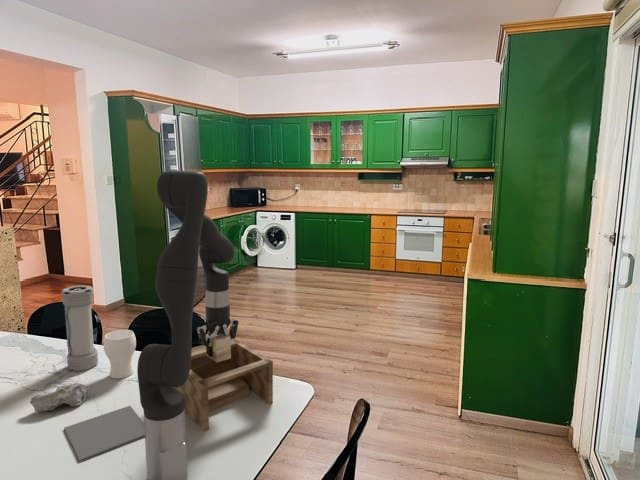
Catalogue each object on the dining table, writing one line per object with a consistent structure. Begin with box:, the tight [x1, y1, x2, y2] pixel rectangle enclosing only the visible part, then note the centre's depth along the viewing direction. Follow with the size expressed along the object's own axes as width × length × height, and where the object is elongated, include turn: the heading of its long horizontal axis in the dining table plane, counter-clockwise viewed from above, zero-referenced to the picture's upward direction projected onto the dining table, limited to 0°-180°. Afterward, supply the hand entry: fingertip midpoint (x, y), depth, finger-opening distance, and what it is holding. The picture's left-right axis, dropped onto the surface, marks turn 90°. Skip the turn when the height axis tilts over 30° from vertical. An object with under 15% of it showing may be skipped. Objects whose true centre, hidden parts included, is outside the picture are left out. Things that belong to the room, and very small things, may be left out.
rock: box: [29, 382, 88, 413], centre depth 132 cm, size 16×7×7 cm, turn 133°
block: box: [205, 333, 231, 362], centre depth 136 cm, size 7×5×7 cm
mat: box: [63, 405, 145, 463], centre depth 120 cm, size 18×18×1 cm
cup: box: [103, 329, 137, 380], centre depth 153 cm, size 11×11×15 cm
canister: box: [61, 284, 99, 372], centre depth 158 cm, size 10×10×30 cm
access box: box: [172, 338, 274, 432], centre depth 138 cm, size 26×24×14 cm
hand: (218, 353), depth 136 cm, fingers closed on block, 5 cm apart
